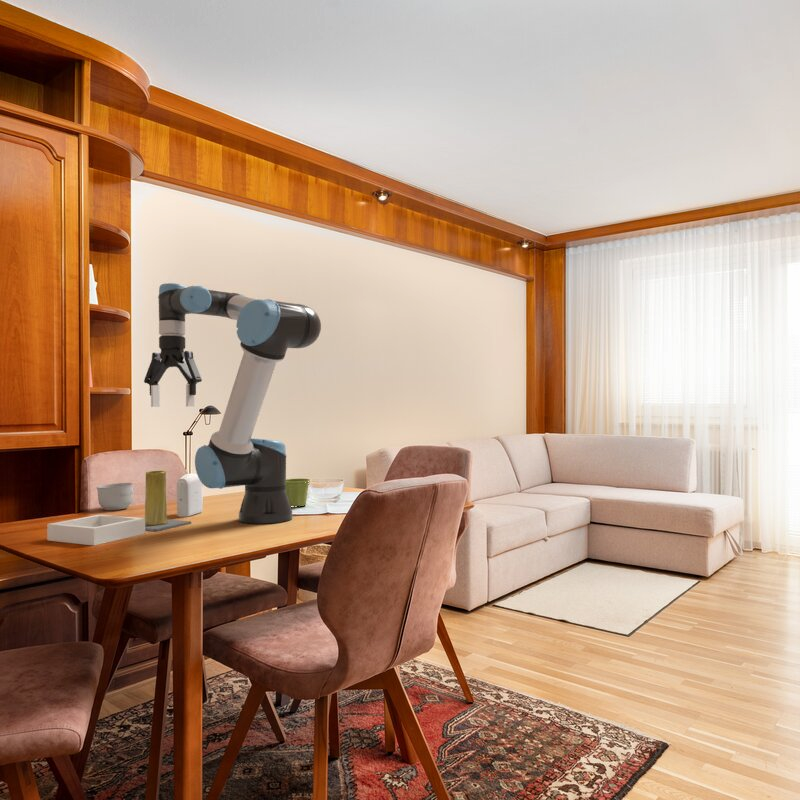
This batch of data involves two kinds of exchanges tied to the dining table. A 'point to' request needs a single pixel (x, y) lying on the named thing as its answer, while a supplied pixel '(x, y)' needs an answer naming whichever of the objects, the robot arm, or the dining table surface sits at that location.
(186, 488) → the photo printer
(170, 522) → the mat
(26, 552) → the dining table surface
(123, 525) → the tub
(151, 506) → the vase
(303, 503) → the plant pot
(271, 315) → the robot arm
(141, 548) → the dining table surface
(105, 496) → the teacup
